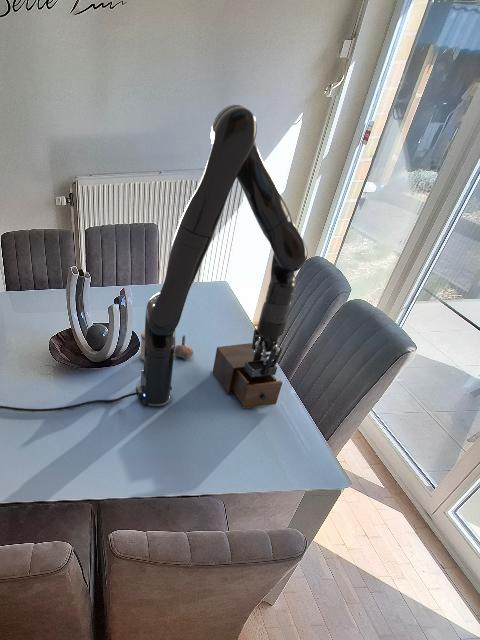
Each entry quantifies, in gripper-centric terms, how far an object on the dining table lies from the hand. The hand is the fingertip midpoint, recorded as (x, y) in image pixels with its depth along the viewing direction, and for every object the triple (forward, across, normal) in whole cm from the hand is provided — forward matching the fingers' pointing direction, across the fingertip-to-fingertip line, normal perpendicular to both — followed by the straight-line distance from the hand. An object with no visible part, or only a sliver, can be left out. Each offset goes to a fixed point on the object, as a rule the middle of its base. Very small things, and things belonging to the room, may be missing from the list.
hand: (259, 369), depth 143 cm
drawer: (+10, -1, 0) cm, 10 cm away
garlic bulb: (+11, -34, -13) cm, 38 cm away
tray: (+1, 0, 0) cm, 1 cm away
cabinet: (+11, -12, 0) cm, 17 cm away
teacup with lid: (+11, -36, -23) cm, 44 cm away
